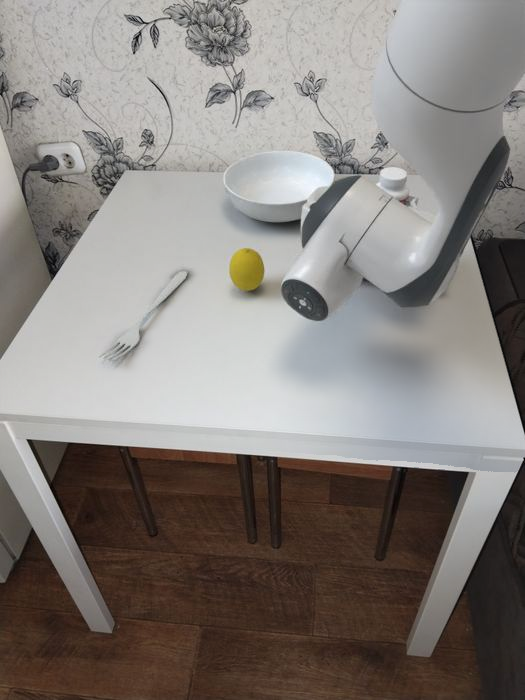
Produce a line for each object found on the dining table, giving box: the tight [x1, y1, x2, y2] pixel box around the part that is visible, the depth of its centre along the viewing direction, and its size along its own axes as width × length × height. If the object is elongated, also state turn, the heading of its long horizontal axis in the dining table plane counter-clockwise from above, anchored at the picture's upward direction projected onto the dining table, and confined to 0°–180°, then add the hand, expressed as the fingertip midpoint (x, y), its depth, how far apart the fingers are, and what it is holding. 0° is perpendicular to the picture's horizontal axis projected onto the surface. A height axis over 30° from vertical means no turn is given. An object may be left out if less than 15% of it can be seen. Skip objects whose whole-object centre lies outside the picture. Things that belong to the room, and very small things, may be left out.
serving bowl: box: [222, 150, 336, 223], centre depth 112 cm, size 21×21×7 cm
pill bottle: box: [375, 166, 410, 205], centre depth 91 cm, size 5×5×10 cm
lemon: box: [229, 247, 265, 291], centre depth 93 cm, size 6×6×8 cm
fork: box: [98, 270, 188, 363], centre depth 92 cm, size 3×24×2 cm, turn 158°
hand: (392, 195), depth 91 cm, fingers closed on pill bottle, 5 cm apart
